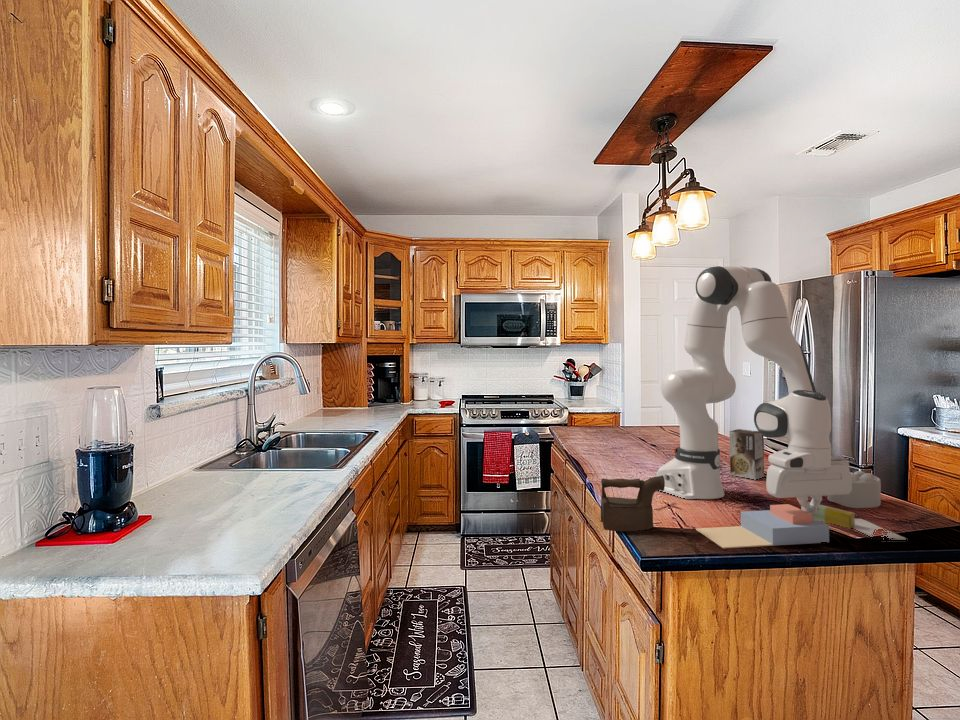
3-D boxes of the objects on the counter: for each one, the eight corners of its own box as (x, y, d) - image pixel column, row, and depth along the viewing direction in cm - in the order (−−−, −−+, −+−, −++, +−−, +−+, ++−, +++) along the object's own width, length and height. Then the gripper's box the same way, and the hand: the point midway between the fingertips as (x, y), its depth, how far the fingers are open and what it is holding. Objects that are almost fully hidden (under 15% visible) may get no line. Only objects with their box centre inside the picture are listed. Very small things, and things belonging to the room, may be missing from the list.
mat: (740, 527, 127) (740, 526, 127) (772, 545, 115) (772, 544, 115) (695, 529, 126) (695, 528, 126) (723, 548, 114) (723, 547, 114)
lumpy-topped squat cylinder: (821, 498, 150) (821, 469, 150) (859, 495, 152) (859, 467, 152) (852, 509, 140) (852, 478, 140) (892, 506, 142) (892, 475, 142)
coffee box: (764, 477, 174) (764, 431, 173) (755, 480, 170) (755, 433, 170) (738, 472, 181) (738, 428, 181) (729, 475, 178) (728, 430, 177)
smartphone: (861, 518, 132) (909, 539, 117) (861, 520, 132) (909, 542, 117) (833, 518, 132) (877, 539, 117) (833, 521, 132) (877, 542, 117)
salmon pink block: (788, 512, 126) (788, 504, 126) (812, 522, 118) (812, 514, 118) (770, 512, 126) (770, 505, 126) (792, 524, 118) (792, 515, 118)
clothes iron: (666, 533, 124) (666, 480, 123) (600, 530, 127) (600, 477, 126) (661, 522, 132) (661, 472, 131) (599, 519, 135) (599, 470, 134)
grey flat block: (792, 524, 128) (792, 509, 128) (829, 542, 117) (829, 525, 116) (740, 527, 127) (740, 511, 127) (772, 545, 115) (772, 528, 115)
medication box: (799, 516, 135) (799, 502, 135) (804, 514, 136) (804, 500, 136) (850, 530, 125) (850, 514, 124) (855, 527, 126) (855, 512, 126)
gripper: (837, 452, 126) (837, 507, 127) (762, 456, 124) (762, 511, 125) (859, 458, 120) (859, 515, 120) (779, 461, 118) (779, 519, 118)
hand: (809, 513), depth 122 cm, fingers closed
